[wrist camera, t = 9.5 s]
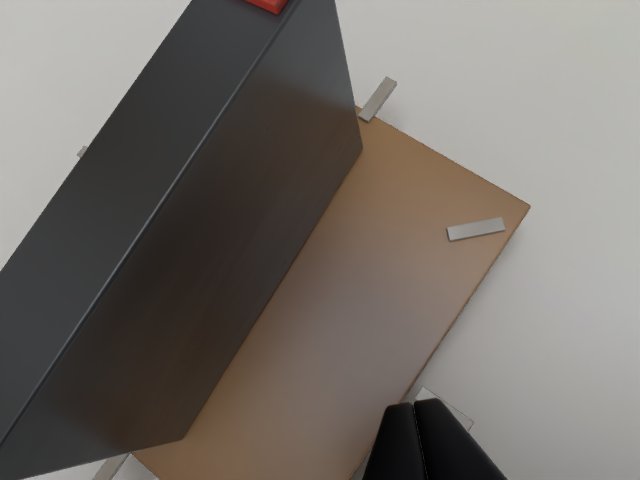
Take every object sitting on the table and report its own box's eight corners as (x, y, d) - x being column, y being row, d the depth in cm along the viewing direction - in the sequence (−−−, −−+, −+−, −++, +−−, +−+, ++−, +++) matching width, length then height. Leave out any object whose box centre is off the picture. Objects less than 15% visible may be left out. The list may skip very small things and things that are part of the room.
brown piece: (320, 642, 14) (304, 686, 12) (-11, 340, 18) (-67, 334, 16) (588, 225, 16) (616, 200, 14) (234, 25, 19) (213, -18, 17)
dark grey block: (181, 441, 14) (-47, 498, 7) (133, 405, 14) (-128, 426, 7) (364, 147, 15) (326, -55, 8) (315, 122, 15) (239, -90, 9)
